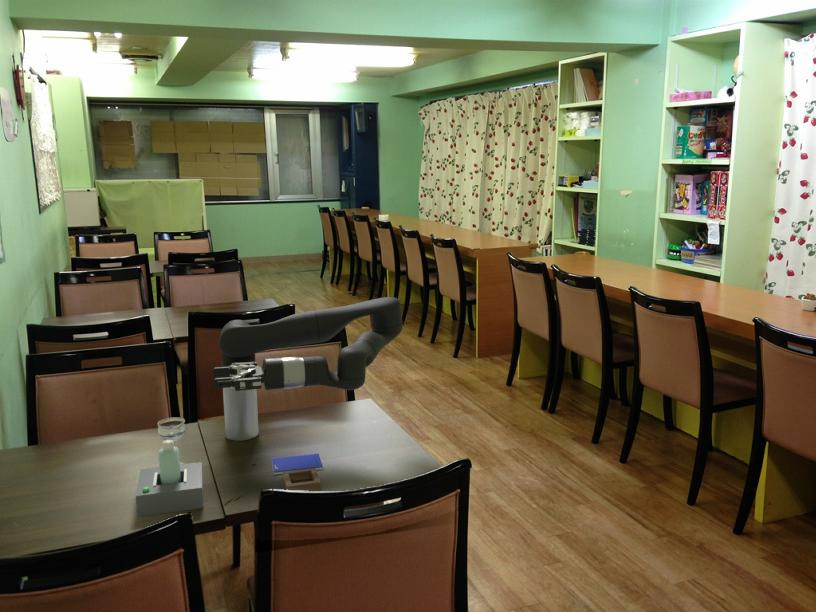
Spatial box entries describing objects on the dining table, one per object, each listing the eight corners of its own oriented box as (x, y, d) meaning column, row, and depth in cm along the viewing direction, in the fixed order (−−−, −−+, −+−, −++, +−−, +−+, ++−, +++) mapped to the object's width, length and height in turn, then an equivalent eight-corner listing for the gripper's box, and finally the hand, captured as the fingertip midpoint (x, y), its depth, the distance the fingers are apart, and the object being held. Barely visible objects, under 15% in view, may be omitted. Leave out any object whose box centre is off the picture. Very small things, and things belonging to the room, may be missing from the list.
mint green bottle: (162, 495, 162) (158, 439, 159) (182, 492, 163) (178, 437, 160) (161, 503, 157) (157, 446, 155) (182, 501, 159) (177, 444, 156)
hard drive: (273, 471, 172) (322, 465, 175) (271, 457, 180) (318, 452, 183) (273, 476, 172) (322, 471, 175) (271, 463, 180) (318, 458, 183)
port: (142, 488, 165) (140, 466, 164) (203, 480, 169) (201, 459, 168) (137, 516, 152) (135, 493, 150) (203, 507, 156) (201, 485, 154)
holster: (283, 479, 169) (282, 472, 169) (315, 475, 172) (315, 468, 171) (287, 494, 162) (286, 486, 161) (320, 489, 164) (320, 482, 164)
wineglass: (168, 474, 172) (165, 429, 170) (155, 466, 177) (152, 422, 174) (193, 465, 177) (190, 421, 175) (179, 458, 182) (176, 415, 179)
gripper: (287, 397, 158) (214, 403, 153) (281, 379, 171) (213, 383, 167) (287, 366, 156) (213, 371, 152) (280, 350, 170) (212, 354, 165)
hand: (213, 377), depth 159 cm, fingers open, 8 cm apart
